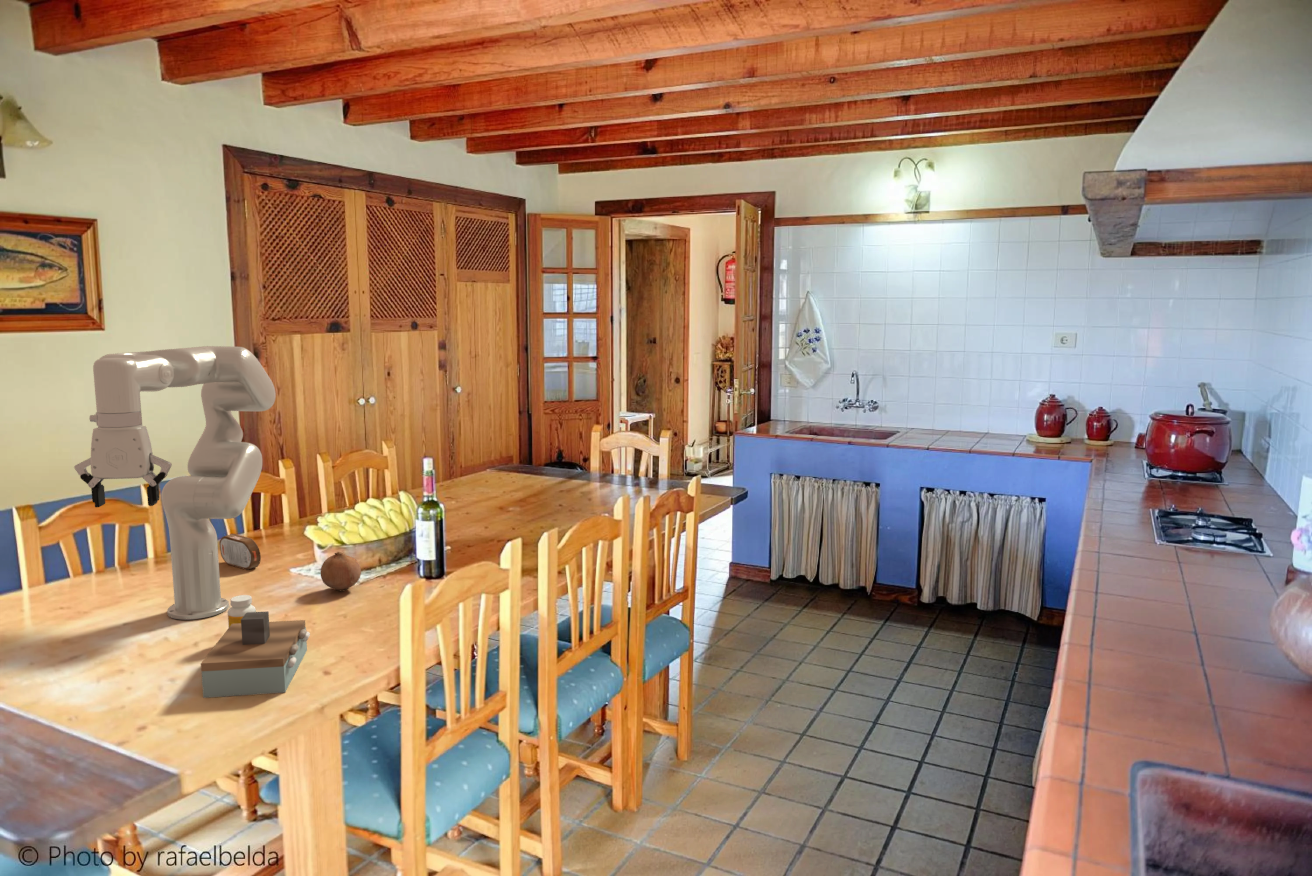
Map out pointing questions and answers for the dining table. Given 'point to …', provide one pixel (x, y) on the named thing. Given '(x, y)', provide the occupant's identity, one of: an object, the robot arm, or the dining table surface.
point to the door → (255, 643)
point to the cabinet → (253, 677)
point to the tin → (240, 551)
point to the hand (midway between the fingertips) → (126, 505)
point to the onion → (340, 572)
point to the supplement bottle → (239, 608)
